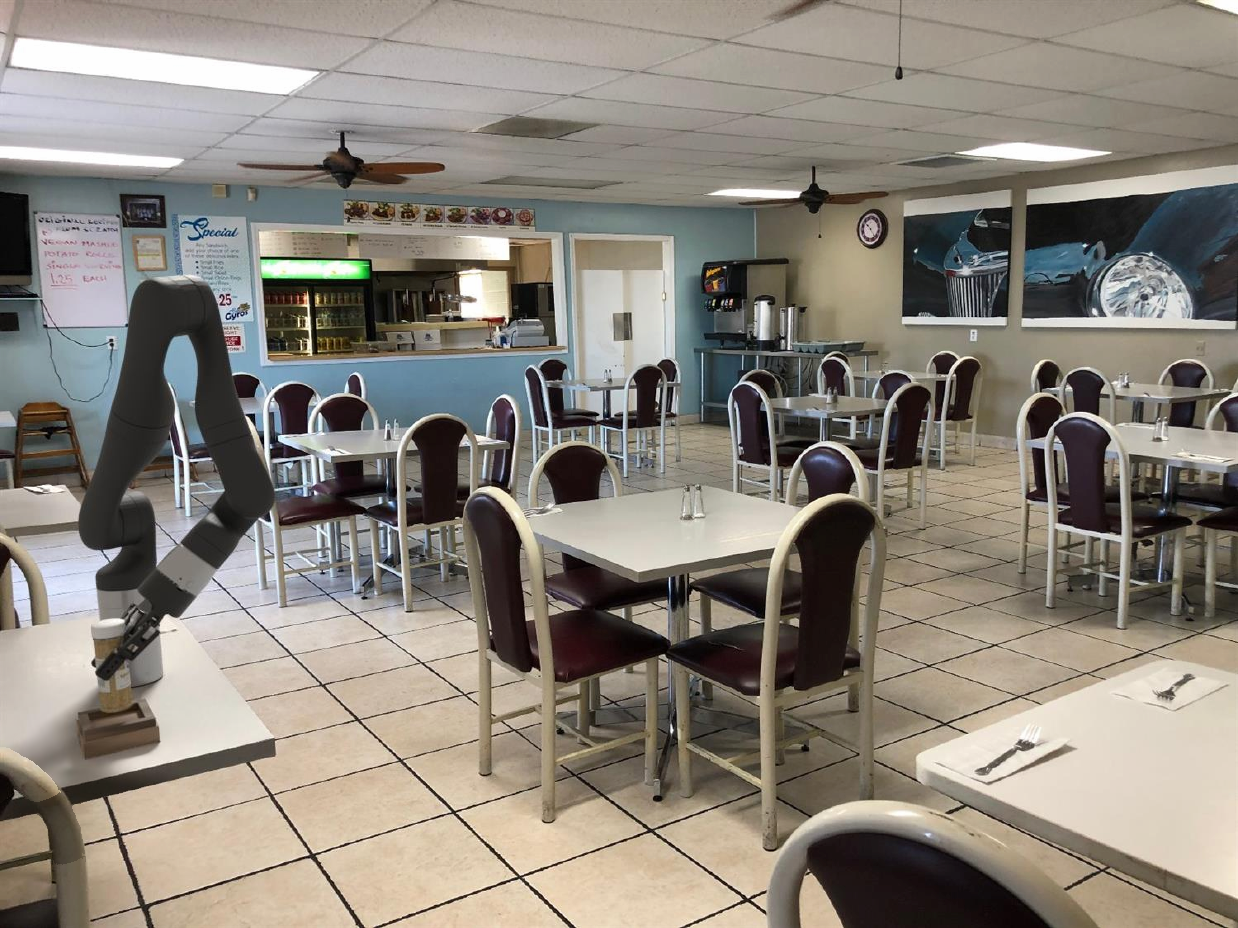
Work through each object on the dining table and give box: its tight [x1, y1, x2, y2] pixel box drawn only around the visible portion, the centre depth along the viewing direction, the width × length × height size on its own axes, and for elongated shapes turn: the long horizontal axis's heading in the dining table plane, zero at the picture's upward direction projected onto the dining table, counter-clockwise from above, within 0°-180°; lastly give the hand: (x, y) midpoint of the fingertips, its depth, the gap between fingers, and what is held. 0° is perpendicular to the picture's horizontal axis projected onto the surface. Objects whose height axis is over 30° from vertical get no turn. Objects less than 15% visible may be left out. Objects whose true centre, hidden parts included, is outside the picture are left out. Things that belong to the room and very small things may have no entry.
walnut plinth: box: [75, 698, 161, 760], centre depth 148 cm, size 10×10×4 cm
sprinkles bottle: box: [90, 619, 134, 713], centre depth 146 cm, size 5×5×13 cm
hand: (98, 672), depth 145 cm, fingers closed on sprinkles bottle, 4 cm apart
